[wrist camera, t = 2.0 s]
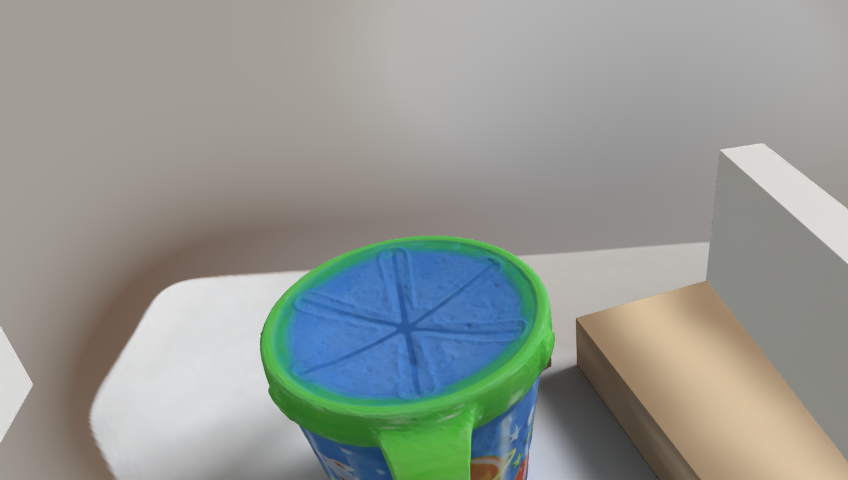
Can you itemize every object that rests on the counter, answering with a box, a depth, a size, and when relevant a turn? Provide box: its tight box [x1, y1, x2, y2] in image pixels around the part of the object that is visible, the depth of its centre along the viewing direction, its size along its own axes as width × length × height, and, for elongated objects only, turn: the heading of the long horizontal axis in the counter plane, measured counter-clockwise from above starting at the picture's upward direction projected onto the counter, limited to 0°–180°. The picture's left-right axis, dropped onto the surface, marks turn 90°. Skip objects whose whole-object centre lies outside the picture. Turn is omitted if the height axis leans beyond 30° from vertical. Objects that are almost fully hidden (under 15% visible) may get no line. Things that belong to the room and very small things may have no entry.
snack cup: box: [260, 236, 555, 480], centre depth 28 cm, size 16×10×10 cm
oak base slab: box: [576, 281, 848, 480], centre depth 31 cm, size 14×14×3 cm
